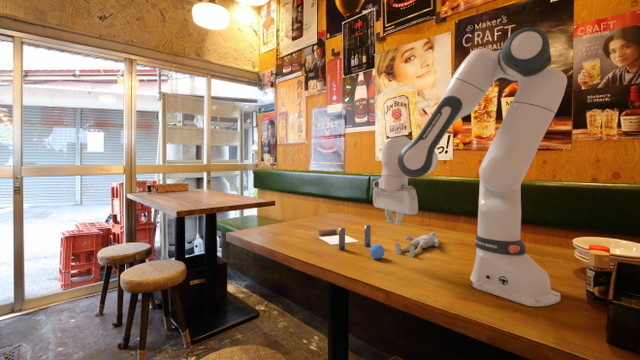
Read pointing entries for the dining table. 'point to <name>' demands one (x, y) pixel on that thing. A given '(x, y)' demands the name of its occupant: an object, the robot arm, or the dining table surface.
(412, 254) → the figurine
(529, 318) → the dining table surface
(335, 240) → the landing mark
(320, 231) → the strip
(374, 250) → the ball
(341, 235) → the post left
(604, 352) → the dining table surface
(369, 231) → the post right
